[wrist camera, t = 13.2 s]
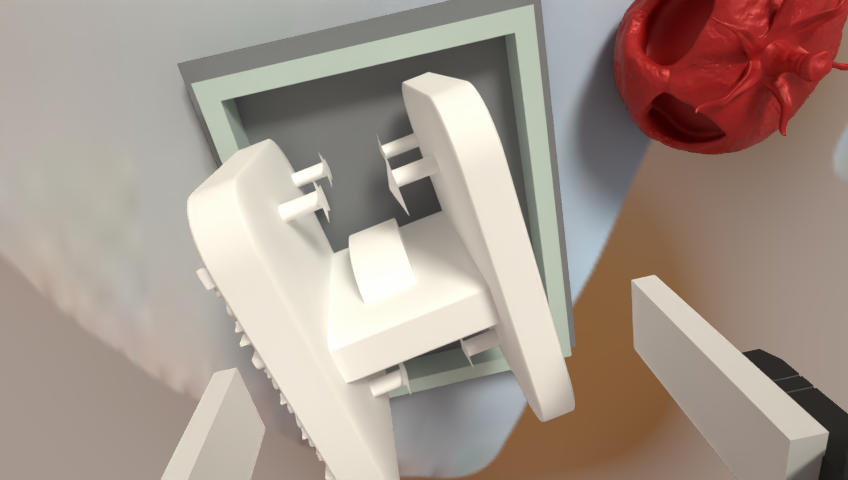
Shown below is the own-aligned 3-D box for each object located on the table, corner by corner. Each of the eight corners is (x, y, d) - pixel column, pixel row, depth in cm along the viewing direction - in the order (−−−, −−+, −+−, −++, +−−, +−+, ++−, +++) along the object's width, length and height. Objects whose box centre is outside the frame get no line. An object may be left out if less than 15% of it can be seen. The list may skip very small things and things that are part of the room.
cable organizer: (505, 305, 30) (594, 443, 20) (349, 367, 30) (352, 541, 19) (426, 68, 24) (490, 80, 14) (232, 144, 24) (144, 216, 14)
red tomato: (766, -73, 25) (977, -138, 16) (759, 118, 29) (927, 146, 20) (583, -26, 25) (698, -66, 16) (600, 160, 29) (701, 207, 20)
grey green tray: (529, -17, 25) (552, -26, 21) (567, 333, 33) (588, 364, 30) (188, 62, 25) (160, 65, 21) (315, 392, 33) (309, 429, 30)
